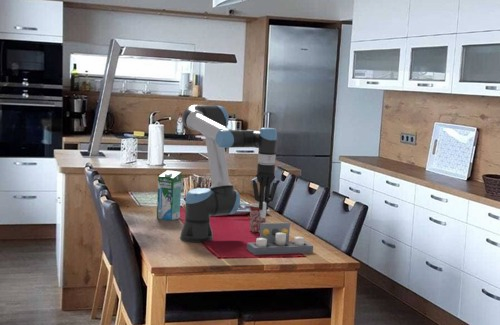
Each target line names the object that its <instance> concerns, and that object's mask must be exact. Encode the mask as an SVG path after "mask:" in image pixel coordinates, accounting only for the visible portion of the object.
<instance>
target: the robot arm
mask: <svg viewBox="0 0 500 325" xmlns="http://www.w3.org/2000/svg"><path fill="white" fill-rule="evenodd" d="M229 117H230V116H229V114H228V112H227V110H226V108H225V107H223V106H222V105H216V104H192V105H189V106H188V107H186V108H185V109H184V110H183V112H182V114H181V121H182V124H183V126H185V127H186V128H187V129H189V130H191V131H194V132H196V131H198V132H199V133H201V135H202V136H204V137H205V144H206V153H207V159H208V167H209V174H210V181H211V186H210V187H209V188H207V187H200V188H193V189H189V190H188V192H187V193H186V195H185V199H184V200H185V214H184V215H185V216H184V223H183V226H182V229H181V232H180V240H182V241H184V242H189V243H208V242H211V241H213V237H214V234H213V230H212V226H211V223H210V222H211V217H215V216H228V215H229V214H234V213H235V212H236V211H237V210H238V208H239V205H240V204H241V196H240V193H239V192H238V190H236V189H234V185H233V184H232V183H231V182H230V176H229V168H228V163H227V162H228V161H227V157H226V149H228V148H231V149H233V148H256V149H258V153H257V154H258V155H257V162H258V163H257V166H256V168H257V170H256V174H255V177H253V178H251V179H250V182H251V184H252V188H253V194H254V200H255V201H256V202H258V204H259V210H261V212H260V217H262V218H266V219H267V214H266V210H268V209H269V204H270V203H271V202H273V201H274V199H275V198H274V197H275V194H276V191H277V188H278V185H279V183H280V182H281V181H280V180H279V179H278V178H276V175H275V172H276V171H275V170H276V165H275V163H276V157H277V156H276V155H277V154H276V153H277V142H278V130H277V129H276V128H273V127H260V129H259V130H256V129H246V130H244V129H238V130H236V129H231V128H229V127H228V126H229V121H230V118H229ZM258 183H259V187H258ZM271 185H272V186H271ZM229 216H230V215H229Z"/></svg>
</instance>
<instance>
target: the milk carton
mask: <svg viewBox="0 0 500 325" xmlns="http://www.w3.org/2000/svg"><path fill="white" fill-rule="evenodd" d="M182 173H183V172H182V171H176V170H170V169H169V170H168V169H166V170H165V171H164V172H162V173H160V175H158V178H157V197H156V198H157V201H156V205H157V206H156V219H157V220H163V221H168V222H169V221H170V222H173V221H175V220H177V219H180V217H181V215H180V214H181V197H182V196H181V194H182V192H181V191H182V176H183V175H182Z"/></svg>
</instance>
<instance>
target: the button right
mask: <svg viewBox="0 0 500 325" xmlns="http://www.w3.org/2000/svg"><path fill="white" fill-rule="evenodd" d="M293 241H294V245H295V246H298V245H304V241H305V237H302V236H294V237H293Z"/></svg>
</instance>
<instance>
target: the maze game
mask: <svg viewBox="0 0 500 325" xmlns="http://www.w3.org/2000/svg"><path fill="white" fill-rule="evenodd" d="M250 204H251V203H240V205H239V208H238V210H237V211H236V212H235V213H234V214H229V216H247V215H248V214H249V216H250ZM267 213H271V210H270V209H269V208H268V210H267Z"/></svg>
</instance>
